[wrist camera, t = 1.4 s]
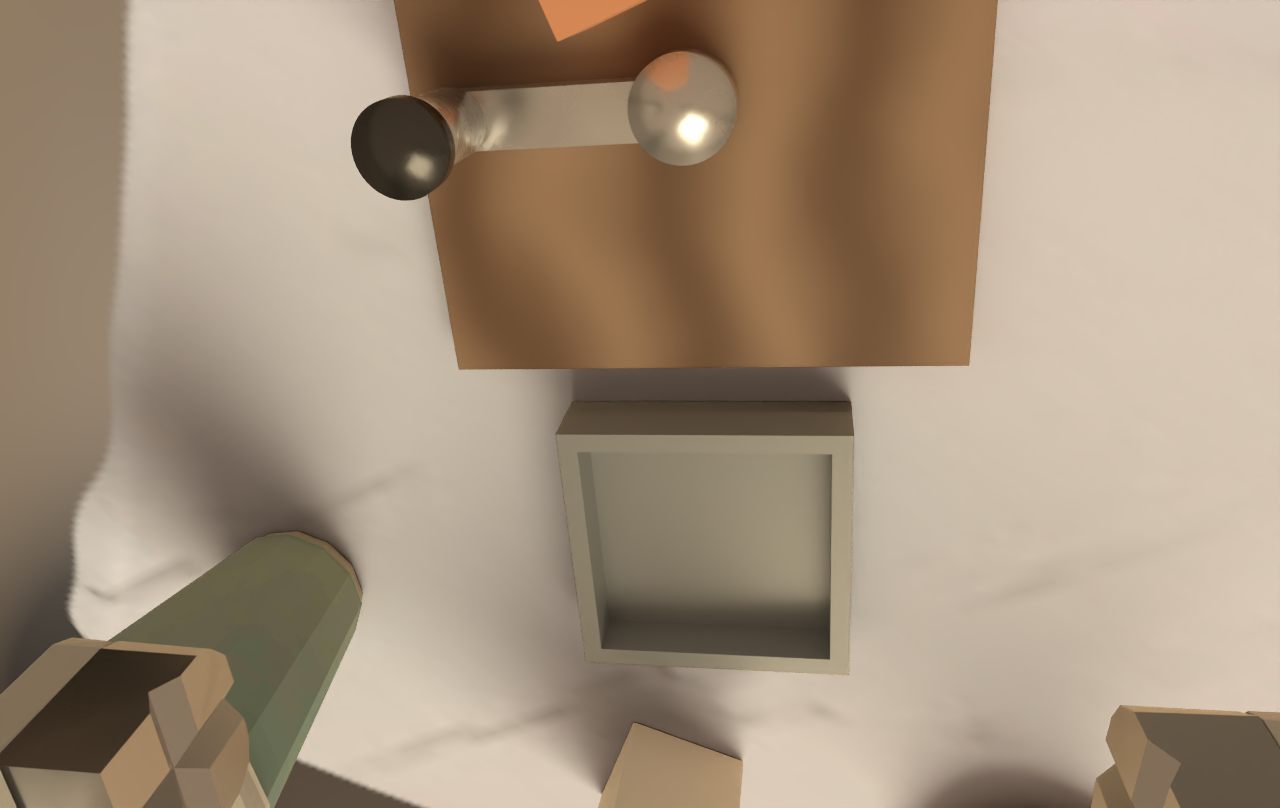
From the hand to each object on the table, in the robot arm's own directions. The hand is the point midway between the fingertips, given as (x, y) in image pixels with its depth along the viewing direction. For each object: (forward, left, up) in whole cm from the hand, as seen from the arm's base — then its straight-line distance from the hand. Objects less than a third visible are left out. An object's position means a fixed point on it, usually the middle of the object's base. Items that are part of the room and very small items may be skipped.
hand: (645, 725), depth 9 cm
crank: (+7, -2, -27) cm, 28 cm away
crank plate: (+3, -2, -29) cm, 29 cm away
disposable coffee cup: (+24, +20, -29) cm, 43 cm away
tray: (+3, +16, -29) cm, 33 cm away
